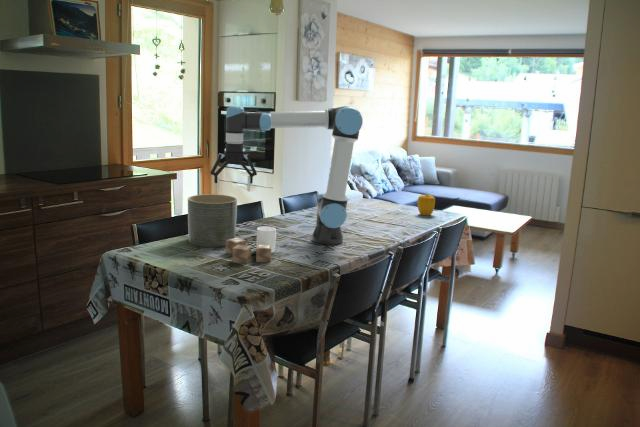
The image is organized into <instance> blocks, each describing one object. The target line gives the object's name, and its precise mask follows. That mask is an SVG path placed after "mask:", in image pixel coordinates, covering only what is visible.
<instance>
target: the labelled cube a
mask: <svg viewBox="0 0 640 427" xmlns="http://www.w3.org/2000/svg"><path fill="white" fill-rule="evenodd" d="M237 245H245V246H247V240H246V239H242V238H239V237H235V238H233V239H229V240H226V246H225V253H226V254H228V255H231V256H233V248H234V247H235V246H237Z"/></svg>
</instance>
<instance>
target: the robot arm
mask: <svg viewBox="0 0 640 427" xmlns="http://www.w3.org/2000/svg"><path fill="white" fill-rule="evenodd" d="M225 112H226V114H225V142H226V143H225V151H224V153H220V152H219V153H218V154H217V158H216V161H215V162H214V164H213V166H212V167H211V169H210V172H209V173H210V175H212V176H213V177H214V180H213V181H214V183H215V184H216V191H217V192H219V191H220V173H221V172H222V171H223V170H224V169H225V168H226V167H227V165H229V164H230V165H239V164H240V165H241V167H242V168H243V169H244V170H245V172H246V173H247V174H248V175H247V188H246V190H247V192H251V185H252V184H253V180H254V177H255V176H257V175H258V173H257V170H256V168H255V166H254V165H253V164H254V163H253V162H252V160H251V155H250V154H249V153H247V154H244V144H243V143H244V130H247V131H248V130H249V131H251V130H252V131H262V132H264V131H271V129H300V128H302V129H303V128H307V129H309V128H315V129H316V128H325V129H326V130H332V133H331V136H332V138H334V143H333V148H332V155H331V161H330V168H329V173H328V180H327V186H326V191H325V193H319V194H318V196H317V199H316V201H317V205H316V208H317V209H316V221H315V222H316V225H315V226H314V230H313V233H312V235H311V236H312V237H311V241H312V242H314V243H316V244H321V245H340V244H342V243H343V242H344V235H343V231H342V228H341V226H343V225H344V224H345V222H346V221H347V216H348V214H347V213H348V212H347V206H348V200H349V199H348V198H347V196H346V192H347V186H348V179H349V174H350V168H351V163H352V157H353V151H354V144H355V143H356V142H357V141H358V140H359V136H360V130H361V129H362V127H363V116H362V114H361V112H360V111H359V110H358V109H357V108H356V107H353V106H351V105H350V106H347V105H345V106H340V107H339V106H338V107H333V108H332V107H330V108H329V107H328V108H325V110H296V111H295V110H292V111H290V110H287V111H282V110H281V111H280V110H279V111H261V110H259V111H254V112H246V111H245V108H244V107H243V106H227V107H226V111H225ZM223 158H225V161H224V162H223V163H222V164H221V165H220V164H219V163H220V162H221V161H222V160H221V159H223ZM244 158H245V160H247V163H248V165H249V168H250V169H251V171H252V172H251V171H250V169H249V168H248V167H247V166H246V165H245V163H244V162H243V160H244ZM219 165H220V167H218V166H219Z"/></svg>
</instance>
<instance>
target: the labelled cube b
mask: <svg viewBox="0 0 640 427" xmlns="http://www.w3.org/2000/svg"><path fill="white" fill-rule="evenodd" d="M256 245H257V244H256ZM255 250H256V254H255V257H256V258H255V262H256V263H271V261H272V253H271V245H257V248H256V249H255Z"/></svg>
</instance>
